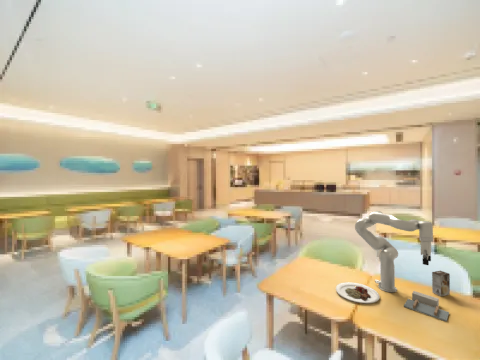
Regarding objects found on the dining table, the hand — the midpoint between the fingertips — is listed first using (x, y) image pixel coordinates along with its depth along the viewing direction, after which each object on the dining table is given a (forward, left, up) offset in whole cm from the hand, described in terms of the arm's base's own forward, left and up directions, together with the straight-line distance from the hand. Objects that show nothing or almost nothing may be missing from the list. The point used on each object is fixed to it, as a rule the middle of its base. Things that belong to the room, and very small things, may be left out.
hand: (426, 262), depth 160 cm
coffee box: (+5, +22, -29) cm, 36 cm away
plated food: (-39, -23, -29) cm, 54 cm away
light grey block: (-1, -1, -29) cm, 29 cm away
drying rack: (+1, -12, -28) cm, 31 cm away
